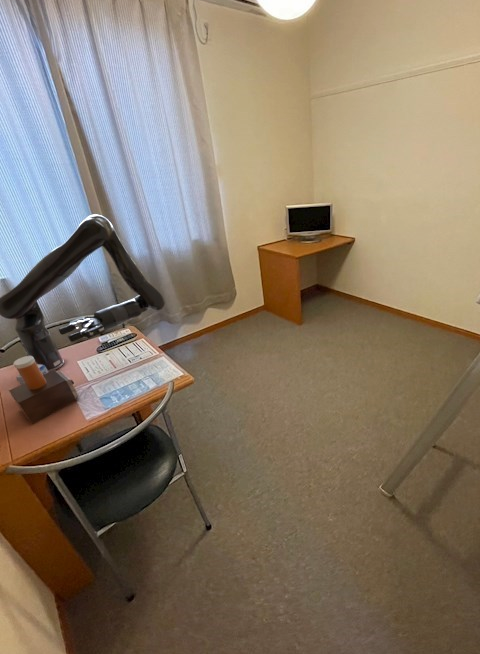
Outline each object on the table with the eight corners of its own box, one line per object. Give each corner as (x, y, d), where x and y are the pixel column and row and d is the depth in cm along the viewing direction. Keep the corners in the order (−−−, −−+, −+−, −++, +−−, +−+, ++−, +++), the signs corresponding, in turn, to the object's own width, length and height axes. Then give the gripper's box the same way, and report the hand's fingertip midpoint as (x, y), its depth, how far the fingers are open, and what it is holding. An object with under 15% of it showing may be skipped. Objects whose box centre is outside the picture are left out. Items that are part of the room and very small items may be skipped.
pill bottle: (26, 386, 110) (11, 361, 105) (43, 378, 113) (30, 354, 108) (31, 392, 107) (16, 366, 102) (49, 383, 110) (35, 358, 105)
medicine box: (36, 396, 119) (25, 377, 115) (26, 395, 120) (15, 376, 116) (54, 383, 126) (44, 364, 122) (45, 382, 127) (34, 363, 122)
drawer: (71, 384, 123) (63, 368, 119) (82, 394, 117) (73, 377, 114) (29, 405, 114) (18, 389, 110) (38, 416, 108) (27, 400, 105)
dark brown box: (65, 389, 122) (54, 369, 117) (76, 400, 116) (65, 379, 111) (22, 410, 113) (8, 390, 108) (32, 424, 107) (18, 402, 102)
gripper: (99, 303, 125) (52, 320, 114) (117, 312, 117) (68, 331, 106) (106, 321, 129) (61, 339, 118) (124, 331, 121) (77, 351, 110)
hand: (64, 335), depth 112 cm, fingers open, 8 cm apart
